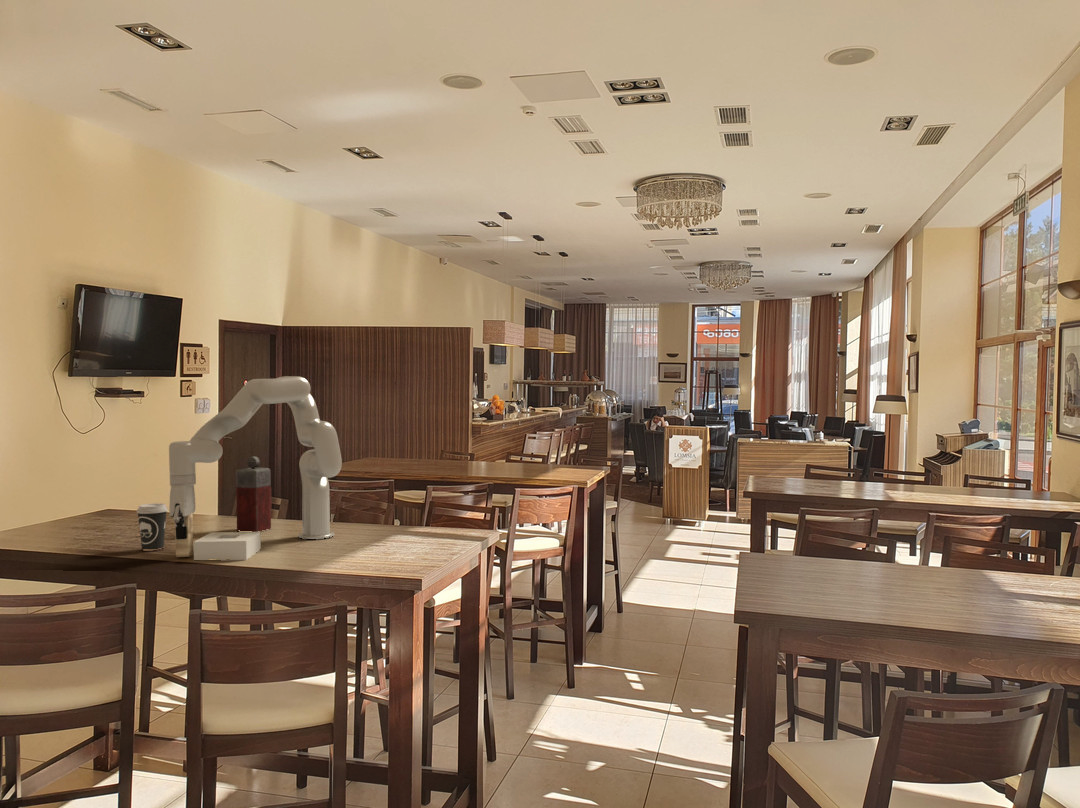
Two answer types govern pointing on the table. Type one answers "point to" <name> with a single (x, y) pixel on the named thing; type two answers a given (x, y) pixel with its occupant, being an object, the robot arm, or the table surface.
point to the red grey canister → (253, 497)
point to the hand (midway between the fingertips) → (184, 537)
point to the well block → (227, 545)
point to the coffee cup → (152, 525)
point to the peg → (185, 545)
